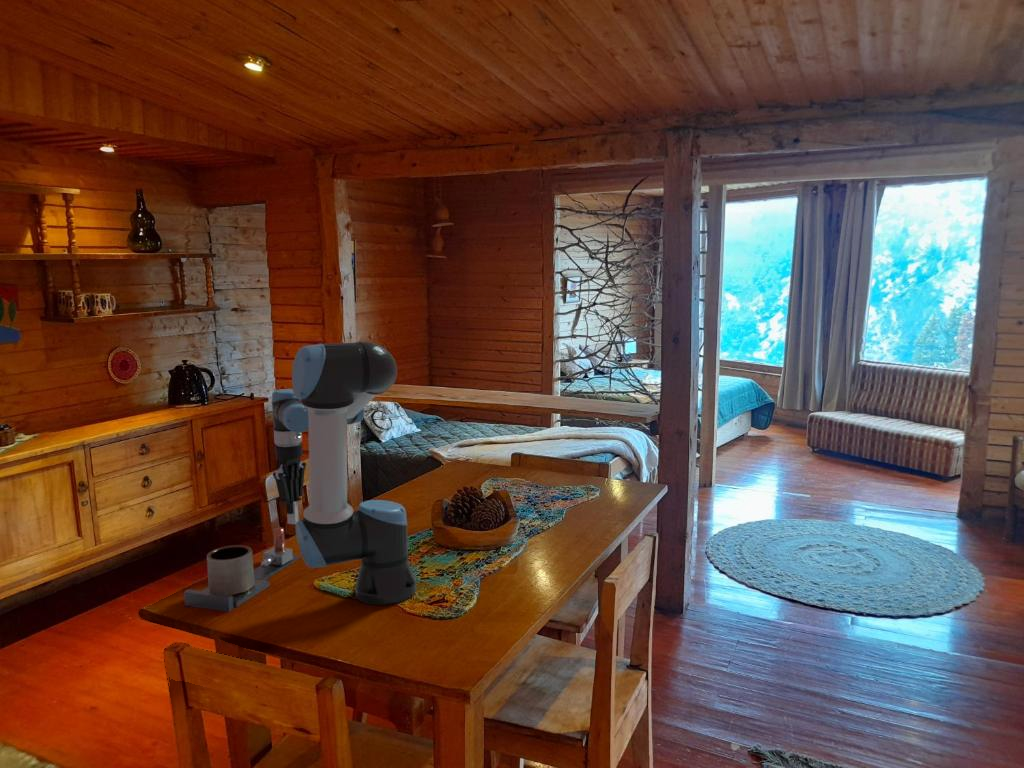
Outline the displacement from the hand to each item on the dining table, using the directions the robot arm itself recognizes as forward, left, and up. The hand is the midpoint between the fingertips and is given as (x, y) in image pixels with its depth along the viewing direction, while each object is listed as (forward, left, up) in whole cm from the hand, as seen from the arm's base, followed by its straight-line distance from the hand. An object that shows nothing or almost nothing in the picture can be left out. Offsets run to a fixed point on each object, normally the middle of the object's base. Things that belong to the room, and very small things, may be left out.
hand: (293, 523), depth 210 cm
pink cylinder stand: (-8, +6, -8) cm, 13 cm away
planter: (-21, +18, -8) cm, 29 cm away
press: (-15, +13, -9) cm, 22 cm away
